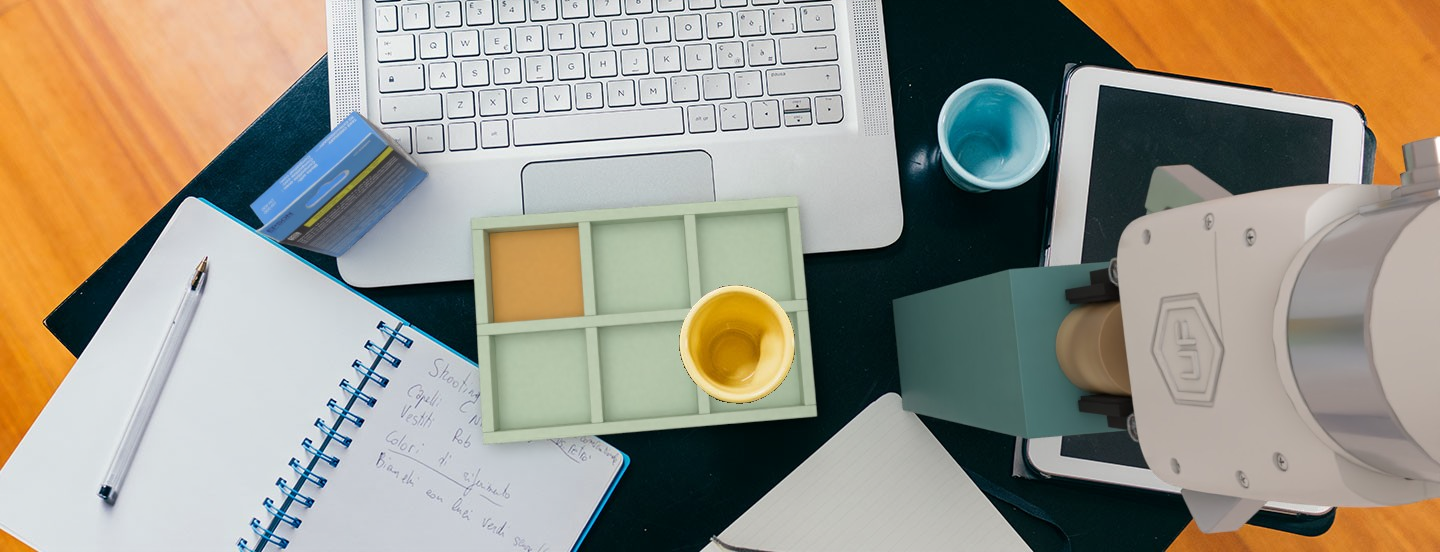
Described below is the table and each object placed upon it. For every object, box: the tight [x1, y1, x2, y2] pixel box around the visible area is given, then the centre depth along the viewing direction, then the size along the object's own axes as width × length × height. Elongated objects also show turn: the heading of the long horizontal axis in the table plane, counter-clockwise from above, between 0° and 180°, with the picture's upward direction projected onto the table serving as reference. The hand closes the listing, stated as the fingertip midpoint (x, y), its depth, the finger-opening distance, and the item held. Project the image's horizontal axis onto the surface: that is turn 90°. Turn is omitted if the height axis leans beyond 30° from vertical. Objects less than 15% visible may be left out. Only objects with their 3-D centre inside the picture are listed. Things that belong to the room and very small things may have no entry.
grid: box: [470, 195, 818, 445], centre depth 60 cm, size 15×23×3 cm
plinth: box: [892, 261, 1125, 440], centre depth 52 cm, size 8×8×22 cm
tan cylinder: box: [1056, 299, 1132, 397], centre depth 39 cm, size 4×4×4 cm
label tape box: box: [249, 110, 429, 258], centre depth 55 cm, size 9×4×12 cm, turn 135°
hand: (1103, 347), depth 40 cm, fingers closed on tan cylinder, 4 cm apart
